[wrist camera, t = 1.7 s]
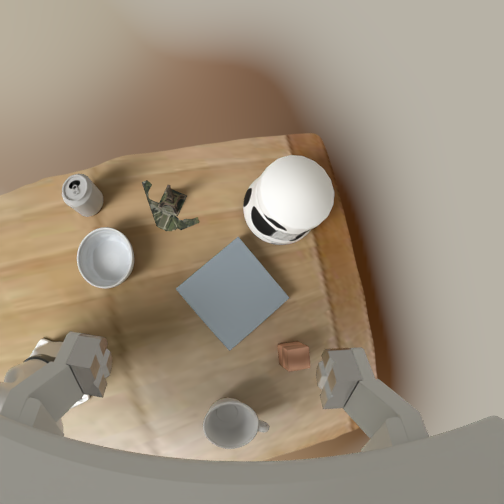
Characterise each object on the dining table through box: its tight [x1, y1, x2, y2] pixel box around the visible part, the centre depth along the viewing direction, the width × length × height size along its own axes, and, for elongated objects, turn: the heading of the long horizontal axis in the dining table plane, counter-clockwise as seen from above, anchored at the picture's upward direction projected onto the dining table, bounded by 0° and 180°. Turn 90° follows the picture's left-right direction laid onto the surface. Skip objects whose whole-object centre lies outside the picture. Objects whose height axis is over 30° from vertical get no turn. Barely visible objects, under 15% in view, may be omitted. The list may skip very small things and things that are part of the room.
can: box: [62, 174, 103, 217], centre depth 64 cm, size 8×8×12 cm
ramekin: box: [77, 227, 134, 288], centre depth 66 cm, size 13×13×7 cm
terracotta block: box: [278, 341, 310, 372], centre depth 70 cm, size 5×5×8 cm
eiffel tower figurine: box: [142, 181, 199, 231], centre depth 67 cm, size 15×10×13 cm
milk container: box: [243, 155, 334, 245], centre depth 69 cm, size 17×17×18 cm
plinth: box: [176, 237, 289, 351], centre depth 71 cm, size 18×18×4 cm
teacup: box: [203, 398, 269, 449], centre depth 65 cm, size 12×15×10 cm
